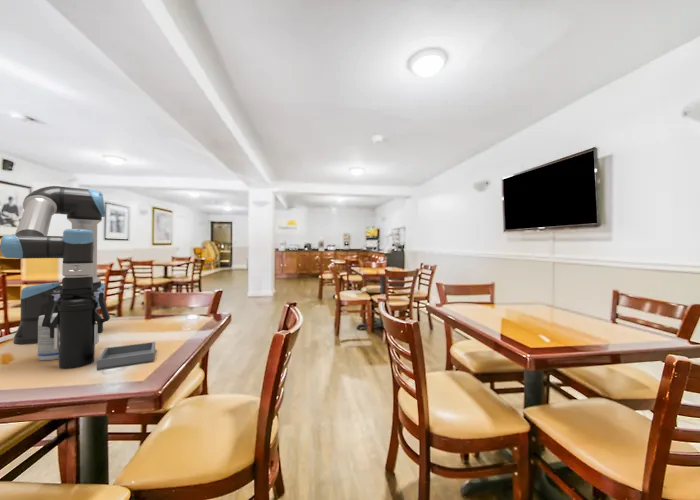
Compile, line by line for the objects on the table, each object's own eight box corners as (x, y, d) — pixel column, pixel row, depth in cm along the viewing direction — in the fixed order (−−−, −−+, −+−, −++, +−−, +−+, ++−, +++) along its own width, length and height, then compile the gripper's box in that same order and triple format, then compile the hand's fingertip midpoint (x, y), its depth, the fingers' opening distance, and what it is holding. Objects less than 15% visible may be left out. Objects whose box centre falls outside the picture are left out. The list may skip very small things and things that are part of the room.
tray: (105, 356, 106) (105, 347, 106) (155, 349, 114) (155, 341, 114) (96, 370, 94) (97, 360, 94) (153, 361, 101) (153, 352, 101)
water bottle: (64, 361, 102) (65, 292, 102) (102, 357, 106) (102, 290, 106) (48, 371, 93) (49, 296, 93) (90, 366, 97) (91, 294, 97)
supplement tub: (72, 358, 105) (72, 315, 105) (33, 363, 100) (33, 318, 100) (77, 350, 113) (78, 310, 113) (42, 355, 108) (42, 313, 108)
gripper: (26, 278, 91) (25, 354, 91) (117, 275, 102) (117, 343, 102) (36, 277, 97) (35, 347, 97) (121, 274, 108) (120, 338, 108)
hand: (77, 345), depth 99 cm, fingers closed on water bottle, 9 cm apart
